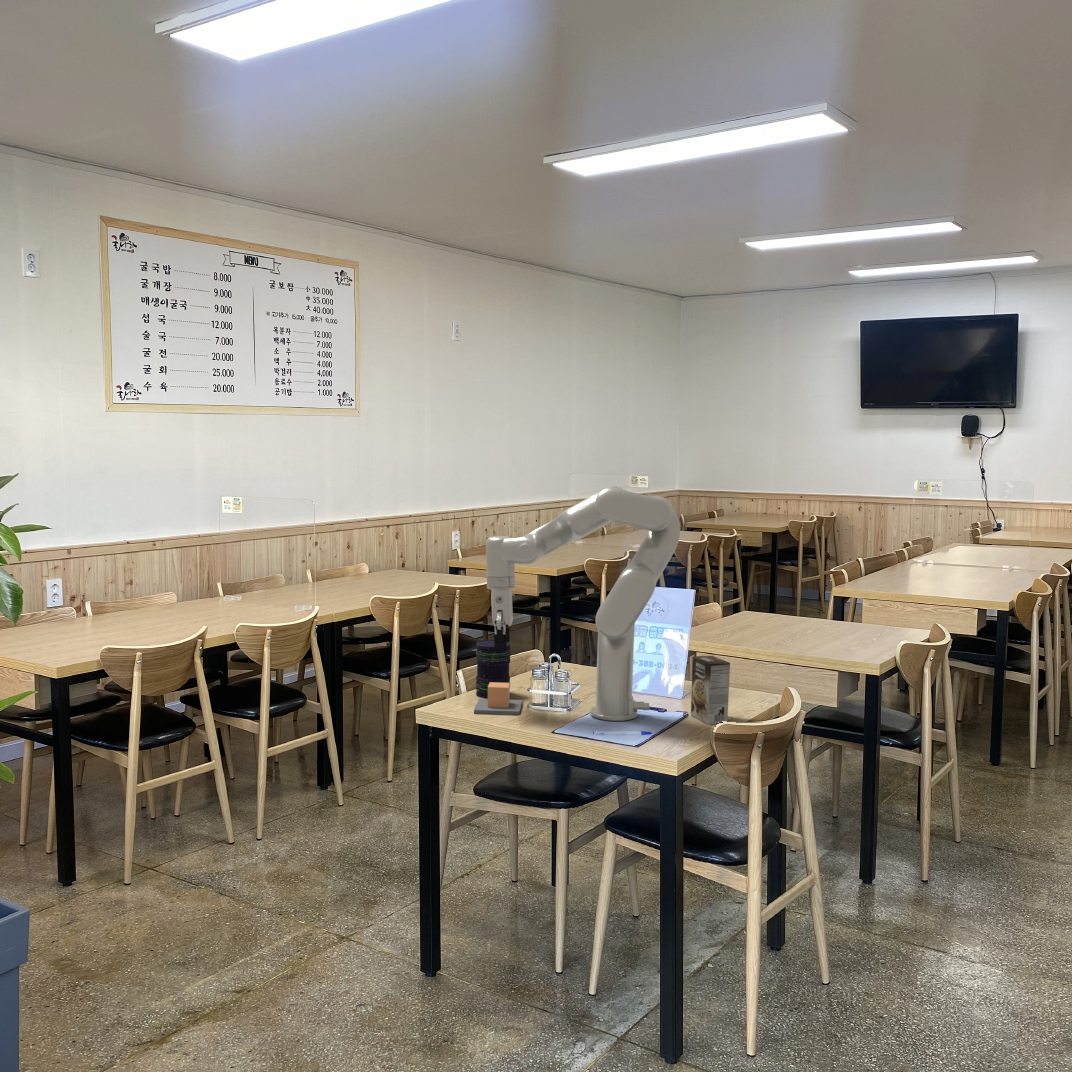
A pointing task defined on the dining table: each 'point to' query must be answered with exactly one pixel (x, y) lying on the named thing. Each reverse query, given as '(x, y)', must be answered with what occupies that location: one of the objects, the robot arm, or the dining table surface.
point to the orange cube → (498, 695)
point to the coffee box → (710, 689)
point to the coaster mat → (511, 710)
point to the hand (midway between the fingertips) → (502, 645)
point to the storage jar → (491, 666)
